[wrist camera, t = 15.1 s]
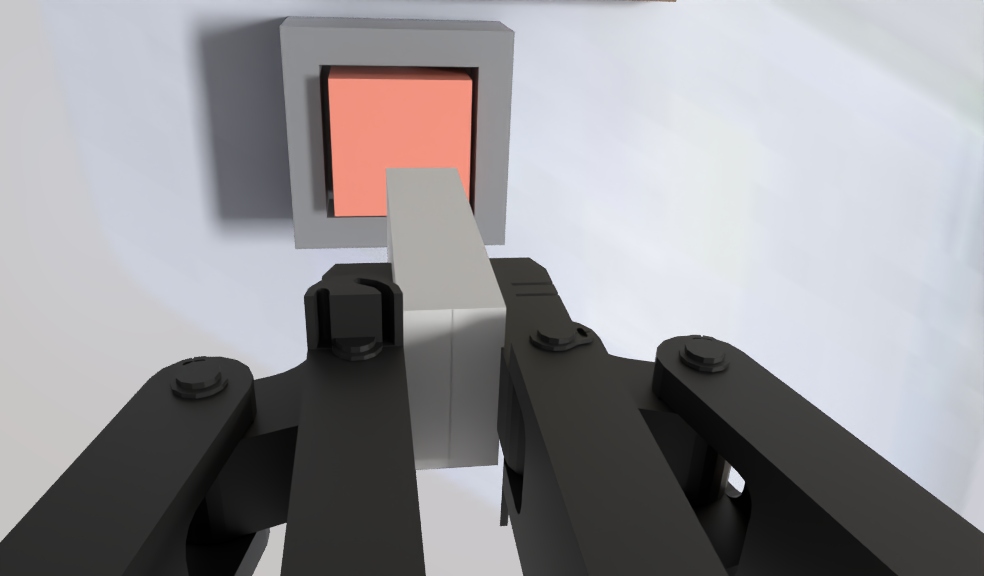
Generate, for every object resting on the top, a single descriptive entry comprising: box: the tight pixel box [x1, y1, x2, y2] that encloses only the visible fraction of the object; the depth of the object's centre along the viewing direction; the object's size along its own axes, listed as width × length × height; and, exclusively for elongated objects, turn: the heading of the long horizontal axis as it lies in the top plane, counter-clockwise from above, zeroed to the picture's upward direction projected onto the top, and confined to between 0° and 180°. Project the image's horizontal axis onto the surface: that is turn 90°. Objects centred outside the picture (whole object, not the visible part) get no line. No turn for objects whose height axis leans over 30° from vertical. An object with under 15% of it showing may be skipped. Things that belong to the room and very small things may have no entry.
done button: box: [328, 66, 472, 216], centre depth 26 cm, size 4×4×2 cm
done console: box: [279, 17, 515, 249], centre depth 27 cm, size 7×7×3 cm
